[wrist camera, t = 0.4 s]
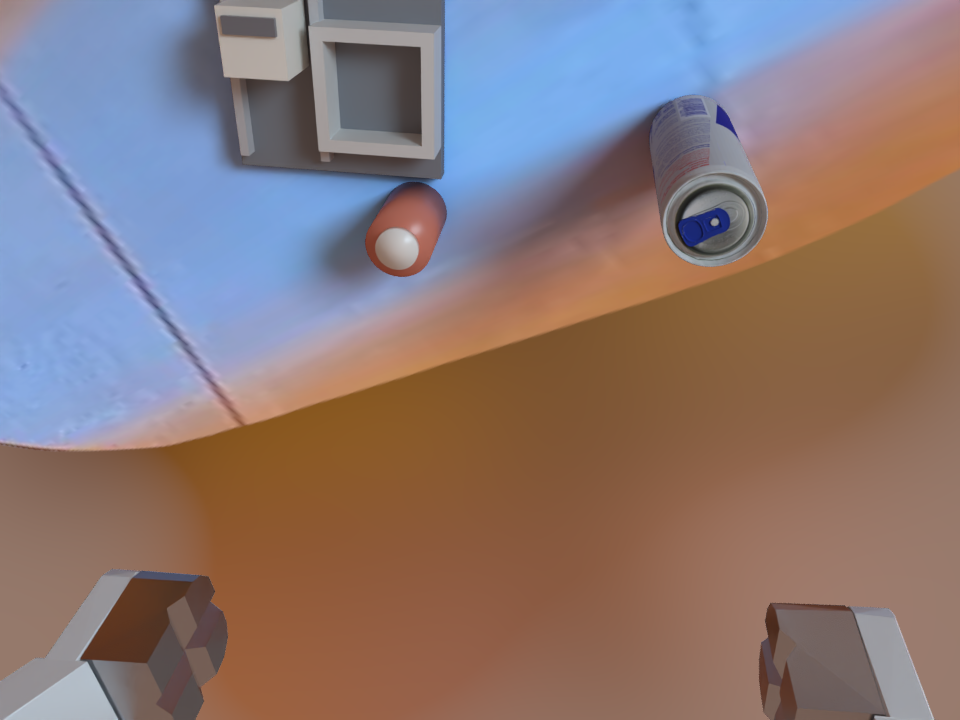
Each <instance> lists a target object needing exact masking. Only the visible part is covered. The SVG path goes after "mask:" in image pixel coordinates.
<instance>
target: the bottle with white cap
mask: <svg viewBox="0 0 960 720" xmlns="http://www.w3.org/2000/svg"><path fill="white" fill-rule="evenodd" d="M446 216H447V210H446V205H445V203H444V200H443V199H442V197H441V195H440V194H439V193H438V192H437V191H436V190H435V189H433V188H432V187H430V186H429V185H426V184H424V183H420V182H407V183H404V184H401V185H399V186H398V187H396V188H395V189H394V190H393V191H392V192H391V194H390V195H389V197H388V198H387V200H386V202H385V203H384V205H383V207H382V208H381V210H380V211H379V213H378V215H377V216H376V218H375V220H374V221H373V223H372V224H371V226H370V228H369V229H368V232H367V234H366V239H365V245H366V250H367V253H368V256H369V257H370V259H371V261H372V262H373V263H374V264H375V265H376V266H377V267H378V268H379V269H380V270H382V271H383V272H385V273H387V274H390V275H393V276H398V277H406V276H411V275H414V274H416V273H418V272H420V271H421V270H422V269H423V268H424V267H425V266H426V265H427V263H428V262H429V260H430V257H431V255H432V252H433V250H434V248H435V245H436V243H437V241H438V238H439V236H440V234H441V231H442V229H443V226H444V224H445V221H446Z"/></svg>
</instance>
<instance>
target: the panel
mask: <svg viewBox="0 0 960 720" xmlns="http://www.w3.org/2000/svg"><path fill="white" fill-rule="evenodd" d="M223 1H226V0H220V3H221V2H223ZM304 10H305V22H306V34H307V45H308V57H309V66H308V67H307V68H305V69H304V70H303V71H301V72H300V73H299V74H297V75H296V76H295V77H293V78H292V79H291V80H289V81H279V80H263V79H248V78H232V77H230V80H231V87H232V94H233V101H234V109H235V116H236V123H237V130H238V138H239V145H240V152H241V155H242V162H243V164H245V165H258V166H272V167H285V168H298V169H312V170H325V171H339V172H352V173H365V174H379V175H392V176H406V177H419V178H432V179H441V178H442V176H443V174H444V41H445V0H304Z"/></svg>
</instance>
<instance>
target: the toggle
mask: <svg viewBox="0 0 960 720" xmlns="http://www.w3.org/2000/svg"><path fill="white" fill-rule="evenodd" d="M214 9H215V16H216V23H217V30H218V37H219V44H220V51H221V58H222V65H223V72H224V77H232V78H248V79H263V80H279V81H289V80H291V79H292V78H293V77H295V76H296V75H297V74H299V73H300V72H301V71H303V70H304V69H305V68H307V67H308V66H309V57H308V45H307V34H306V22H305V10H304V0H226V1H223V2H221V3H218V4H216V5H214Z"/></svg>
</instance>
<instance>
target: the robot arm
mask: <svg viewBox="0 0 960 720" xmlns="http://www.w3.org/2000/svg"><path fill="white" fill-rule="evenodd" d="M214 593H215V590H214V588H213V585H212V584H211V581H210V579H209V577H208V576H201V575H189V574H176V573H163V572H150V571H134V570H119V569H111V570H110V571H108V572H107V573H105V574H104V575H102V576H101V577H100V579H99V580H98V582H97V583H96V585H95V586H94V587H93V589H92V591H91V592H90V594H89V595H88V596H87V598H86V599H85V601H84V602H83V603H82V605H81V606H80V608H79V609H78V611H77V612H76V614H75V615H74V617H73V618H72V619H71V621H70V622H69V624H68V625H67V627H66V628H65V630H64V631H63V632H62V634H61V635H60V637H59V638H58V640H57V641H56V643H55V644H54V645H53V647H52V648H51V650H50V651H49V653H48V654H47V656H46V657H45V658H35V659H33V660H32V661H30V662H29V663H27V664H26V665H24V666H23V667H21V668H19V669H18V670H16V671H15V672H13V673H12V674H10V675H9V676H8V677H6V678H4V679H3V680H2V681H0V720H195V719H196V717H197V715H198V713H199V711H200V709H201V706H202V704H203V702H204V700H203V695H202V691H201V686H202V685H204V684H205V683H206V682H207V681H209V680H210V679H211V678H213V677H214V676H215V675H216V674H217V672H218V670H219V667H220V665H221V663H222V661H223V658H224V655H225V650H226V644H227V639H228V633H227V623H226V620H225V617H224V614H223V611H221V610H220V609H219V608H218V607H216V606H215V605H214V604H213V603H211V602H210V601H211V599H212V597H213V595H214ZM765 623H766V628H767V633H768V638H767V639H766V640H764V641H763V642H761V649H760V657H759V683H760V692H761V699H762V705H763V711H764V713H765V715H766V716H767V717H768V718H769V719H770V720H934V718H933V715H932V713H931V710H930V707H929V704H928V702H927V699H926V697H925V694H924V691H923V689H922V686H921V683H920V681H919V678H918V676H917V673H916V670H915V668H914V665H913V662H912V660H911V657H910V654H909V652H908V649H907V646H906V644H905V641H904V639H903V636H902V633H901V631H900V628H899V625H898V623H897V620H896V617H895V615H894V614H893V613H892V612H891V611H890V609H889V608H873V607H851V606H849V607H846V606H845V605H818V604H791V603H770V605H769V607H768V608H767V613H766V619H765Z"/></svg>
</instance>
